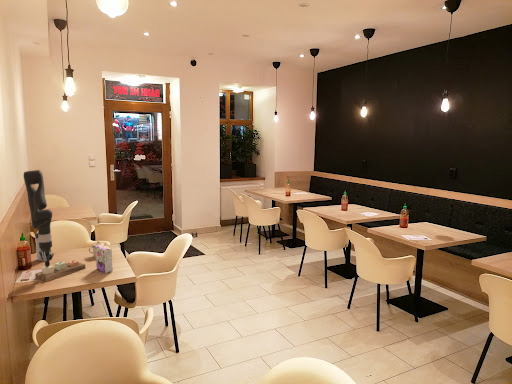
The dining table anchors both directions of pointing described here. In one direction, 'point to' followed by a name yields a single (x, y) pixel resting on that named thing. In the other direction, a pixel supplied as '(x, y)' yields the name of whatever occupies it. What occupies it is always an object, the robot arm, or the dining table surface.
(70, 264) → the key three
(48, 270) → the key one
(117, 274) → the dining table surface
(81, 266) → the key block
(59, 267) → the key two
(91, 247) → the teacup with lid
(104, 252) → the candy box
